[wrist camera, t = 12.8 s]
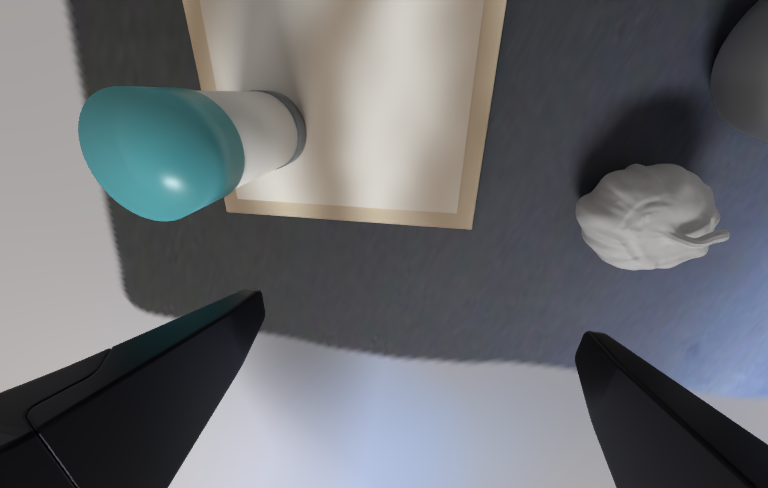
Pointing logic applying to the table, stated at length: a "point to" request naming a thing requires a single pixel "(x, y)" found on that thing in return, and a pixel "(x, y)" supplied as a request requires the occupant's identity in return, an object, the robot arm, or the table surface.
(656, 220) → the garlic
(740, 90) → the plastic bottle
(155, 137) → the cylinder
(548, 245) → the table surface
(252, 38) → the picture frame
